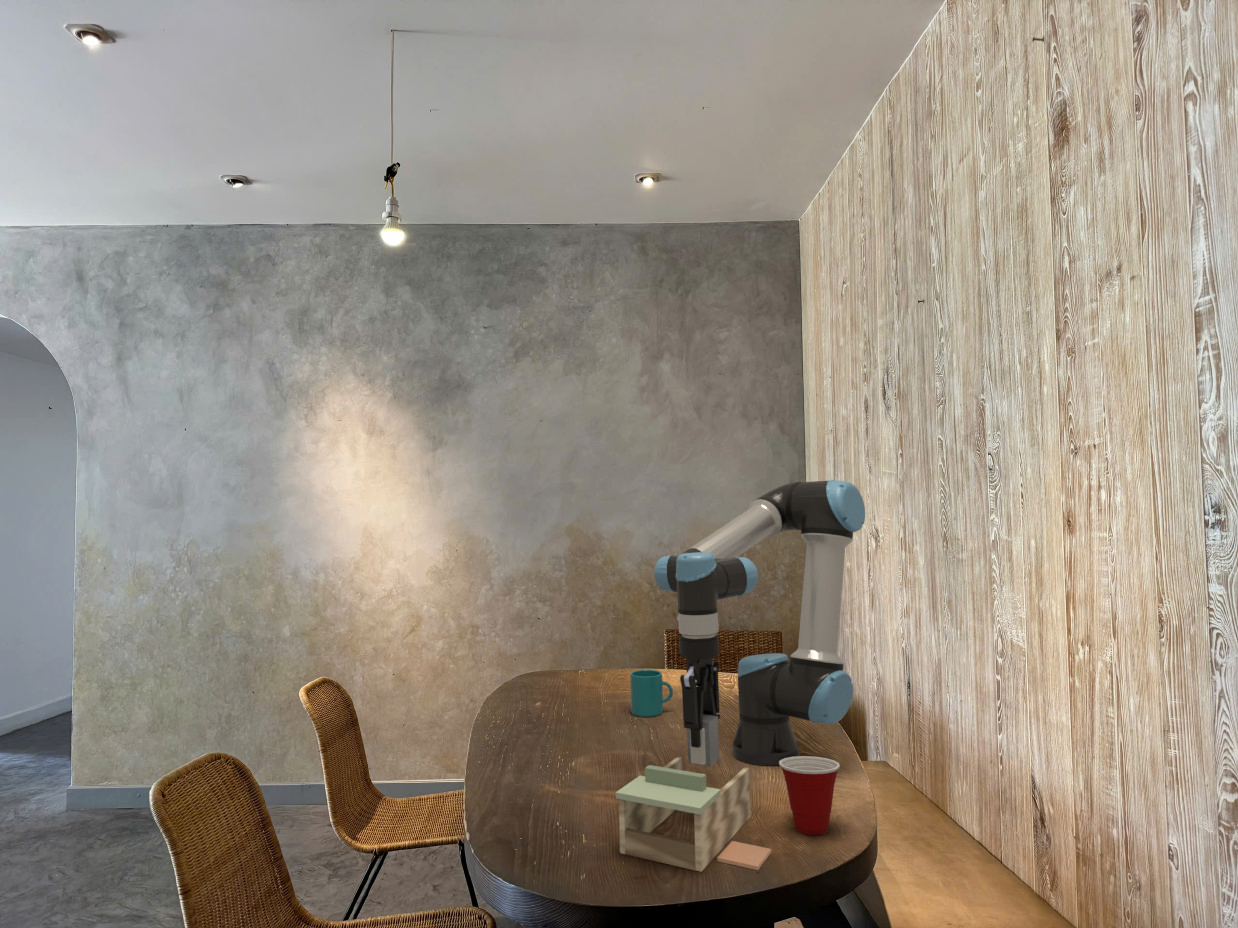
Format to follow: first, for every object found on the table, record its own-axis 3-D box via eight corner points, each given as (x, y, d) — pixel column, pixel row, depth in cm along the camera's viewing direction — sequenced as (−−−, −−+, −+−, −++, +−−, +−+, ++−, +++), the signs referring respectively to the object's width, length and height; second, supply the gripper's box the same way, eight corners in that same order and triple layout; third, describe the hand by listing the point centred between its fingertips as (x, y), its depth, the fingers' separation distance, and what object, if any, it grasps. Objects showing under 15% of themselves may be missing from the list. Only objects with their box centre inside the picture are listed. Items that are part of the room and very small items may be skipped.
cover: (639, 780, 139) (639, 761, 139) (720, 795, 132) (720, 774, 132) (615, 798, 131) (615, 777, 131) (700, 814, 124) (699, 792, 124)
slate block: (697, 755, 148) (695, 713, 148) (719, 758, 146) (717, 715, 146) (688, 762, 144) (686, 720, 144) (710, 766, 142) (708, 722, 142)
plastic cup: (834, 815, 145) (832, 751, 145) (849, 841, 134) (846, 771, 134) (776, 816, 145) (774, 751, 146) (786, 841, 134) (784, 771, 135)
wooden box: (678, 803, 152) (677, 756, 153) (750, 816, 145) (749, 768, 145) (619, 852, 131) (618, 799, 132) (701, 871, 124) (699, 814, 124)
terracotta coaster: (732, 844, 133) (732, 840, 134) (771, 852, 130) (771, 848, 130) (717, 861, 127) (717, 857, 127) (757, 870, 124) (757, 866, 124)
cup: (674, 717, 213) (673, 676, 213) (631, 717, 213) (630, 676, 213) (672, 708, 222) (671, 669, 222) (631, 709, 222) (630, 669, 222)
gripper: (698, 625, 155) (703, 741, 155) (660, 642, 140) (666, 771, 139) (733, 627, 152) (738, 746, 151) (698, 645, 136) (704, 777, 136)
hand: (704, 758), depth 145 cm, fingers closed on slate block, 4 cm apart
